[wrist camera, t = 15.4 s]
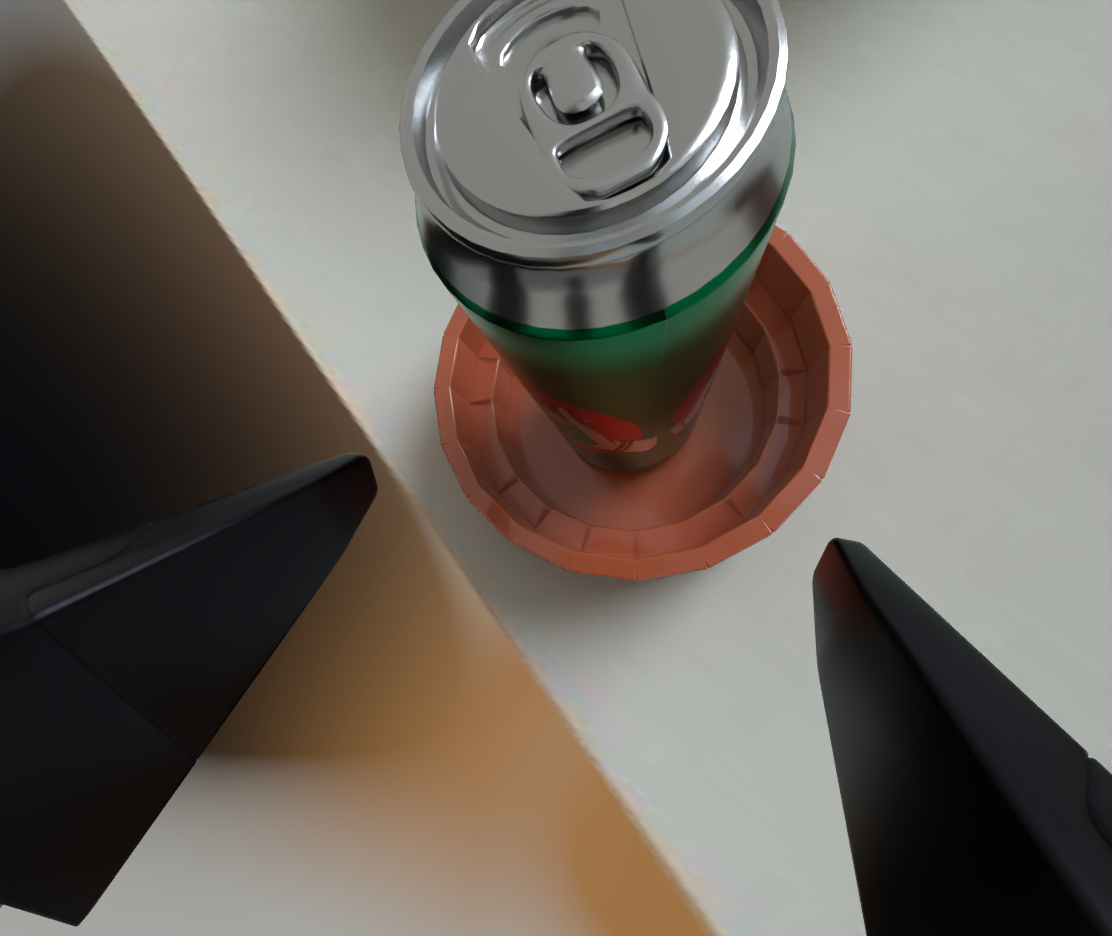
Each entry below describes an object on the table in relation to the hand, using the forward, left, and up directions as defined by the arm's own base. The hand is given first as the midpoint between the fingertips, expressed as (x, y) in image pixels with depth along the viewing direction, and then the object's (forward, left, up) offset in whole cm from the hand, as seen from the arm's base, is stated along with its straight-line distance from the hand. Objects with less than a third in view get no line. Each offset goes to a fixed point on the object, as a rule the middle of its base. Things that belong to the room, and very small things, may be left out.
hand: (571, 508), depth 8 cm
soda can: (+4, +2, -8) cm, 9 cm away
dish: (+4, +2, -8) cm, 9 cm away
